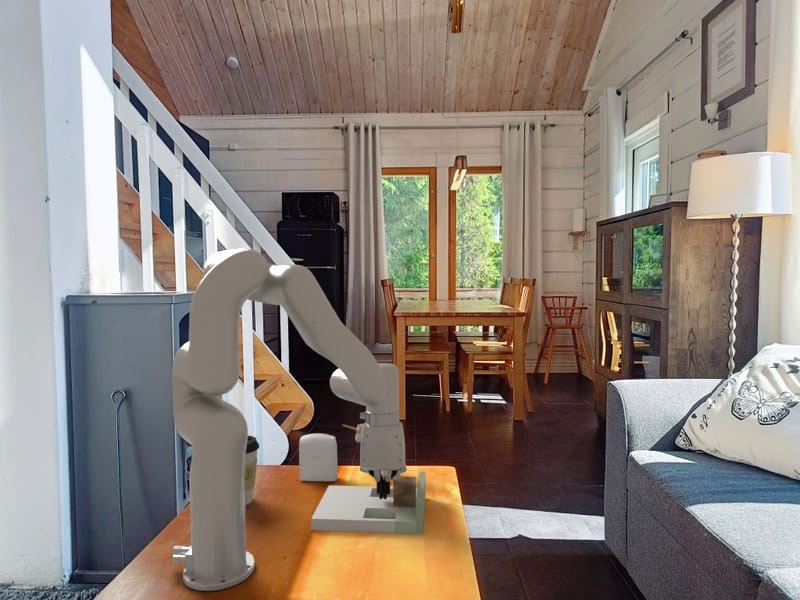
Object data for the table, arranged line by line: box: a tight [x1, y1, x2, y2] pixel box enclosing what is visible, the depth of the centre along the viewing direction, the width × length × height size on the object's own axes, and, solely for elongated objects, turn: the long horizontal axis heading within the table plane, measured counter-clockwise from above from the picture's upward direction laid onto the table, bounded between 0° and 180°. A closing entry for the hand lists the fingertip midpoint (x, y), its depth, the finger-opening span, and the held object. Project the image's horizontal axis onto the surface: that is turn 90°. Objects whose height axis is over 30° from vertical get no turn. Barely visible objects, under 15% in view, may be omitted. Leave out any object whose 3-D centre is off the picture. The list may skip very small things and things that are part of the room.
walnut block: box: [392, 476, 417, 507], centre depth 121 cm, size 5×5×5 cm
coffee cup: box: [244, 435, 260, 506], centre depth 127 cm, size 10×10×15 cm
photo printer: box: [298, 433, 339, 482], centre depth 141 cm, size 10×4×12 cm, turn 85°
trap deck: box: [310, 471, 426, 535], centre depth 121 cm, size 24×18×6 cm
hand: (383, 496), depth 121 cm, fingers closed
